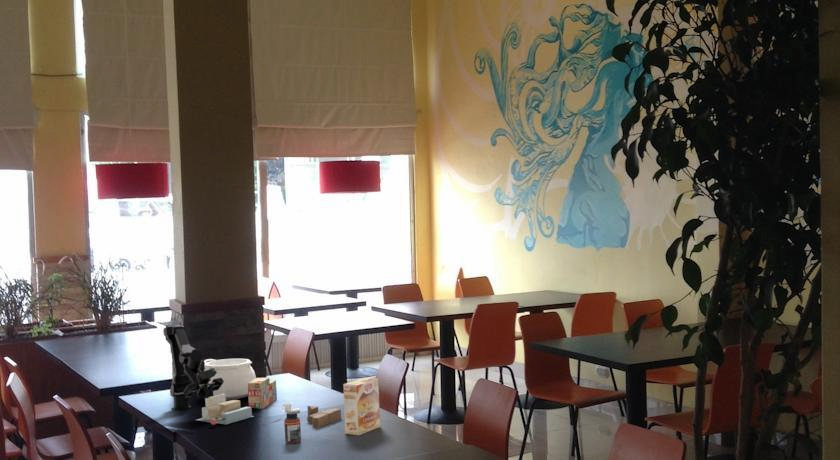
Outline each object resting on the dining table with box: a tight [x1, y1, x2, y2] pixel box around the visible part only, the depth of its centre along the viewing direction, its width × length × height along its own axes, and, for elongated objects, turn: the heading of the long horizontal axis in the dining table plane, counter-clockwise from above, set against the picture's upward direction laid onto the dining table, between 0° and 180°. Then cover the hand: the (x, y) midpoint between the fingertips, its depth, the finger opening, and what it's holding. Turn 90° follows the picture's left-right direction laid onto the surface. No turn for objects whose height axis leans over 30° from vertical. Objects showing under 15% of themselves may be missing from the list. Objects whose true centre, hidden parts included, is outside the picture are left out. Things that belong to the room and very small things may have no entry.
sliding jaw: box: [201, 394, 228, 420], centre depth 369 cm, size 4×14×9 cm, turn 145°
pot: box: [203, 358, 257, 401], centre depth 420 cm, size 29×26×17 cm
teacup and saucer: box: [281, 402, 301, 413], centre depth 377 cm, size 9×8×4 cm
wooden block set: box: [306, 405, 342, 429], centre depth 357 cm, size 17×6×18 cm
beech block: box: [218, 399, 241, 419], centre depth 365 cm, size 4×9×7 cm, turn 145°
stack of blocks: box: [247, 377, 278, 410], centre depth 397 cm, size 21×6×12 cm, turn 171°
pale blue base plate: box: [196, 406, 255, 426], centre depth 364 cm, size 19×22×5 cm
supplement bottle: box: [283, 411, 302, 445], centre depth 325 cm, size 6×6×11 cm
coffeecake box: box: [342, 377, 381, 436], centre depth 339 cm, size 15×7×20 cm, turn 148°
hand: (213, 402), depth 370 cm, fingers closed, pressing on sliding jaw
